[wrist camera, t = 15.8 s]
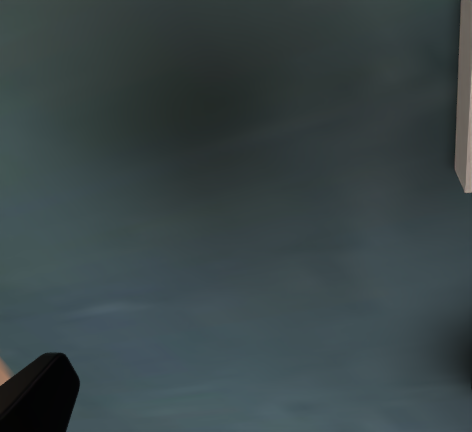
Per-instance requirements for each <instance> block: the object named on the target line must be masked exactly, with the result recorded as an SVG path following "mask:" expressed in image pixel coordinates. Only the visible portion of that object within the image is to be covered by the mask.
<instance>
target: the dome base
mask: <svg viewBox="0 0 472 432" xmlns="http://www.w3.org/2000/svg"><path fill="white" fill-rule="evenodd" d="M455 172H456V174H457V176H458V178H459V180H460V183H461V185H462V187H463V189H464V192H465V193H471V192H472V0H461V14H460V40H459V67H458V93H457V120H456V146H455Z"/></svg>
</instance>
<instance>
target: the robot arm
mask: <svg viewBox="0 0 472 432" xmlns="http://www.w3.org/2000/svg"><path fill="white" fill-rule="evenodd" d="M79 387H80V380H79V377H78V375H77V373H76V371H75V370H74V368H73V366H72V364H71V363H70V361H69V359H68V357H67V356H66V355H65V354H63V353H45V354H43V355H41V356H40V357H38V358H37V359H36V360H34V361H33V362H32V363H30V364H29V365H28V366H26V367H25V368H24V369H22V370H21V371H20V372H18V373H17V374H16V375H14V376H13V377H12V378H10V379H9V380H8V381H6V382H5V383H4V384H2V385H1V386H0V432H66V430H67V427H68V424H69V420H70V417H71V414H72V411H73V408H74V405H75V401H76V398H77V395H78V392H79ZM471 388H472V386H471Z"/></svg>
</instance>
